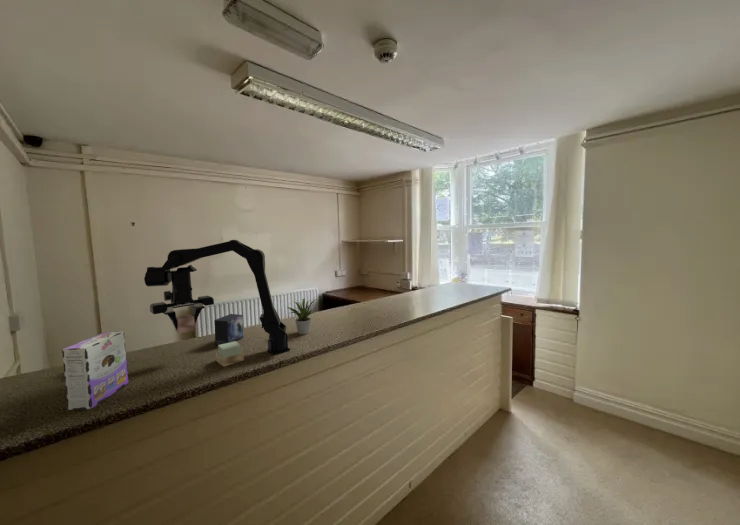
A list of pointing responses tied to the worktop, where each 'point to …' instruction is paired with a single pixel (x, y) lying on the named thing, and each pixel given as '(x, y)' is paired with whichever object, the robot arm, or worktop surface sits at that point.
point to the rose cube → (185, 324)
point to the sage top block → (229, 349)
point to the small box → (228, 329)
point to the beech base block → (229, 359)
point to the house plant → (302, 317)
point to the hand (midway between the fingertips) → (185, 327)
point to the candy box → (95, 369)
